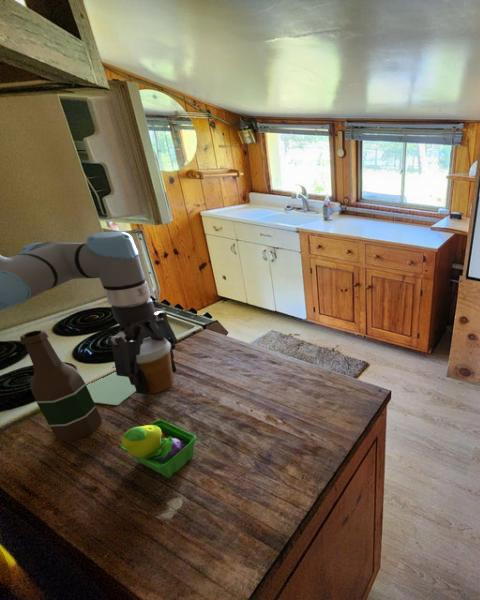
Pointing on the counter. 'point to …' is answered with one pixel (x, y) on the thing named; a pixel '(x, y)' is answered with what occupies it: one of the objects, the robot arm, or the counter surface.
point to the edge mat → (111, 389)
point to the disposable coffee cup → (156, 364)
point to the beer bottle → (60, 391)
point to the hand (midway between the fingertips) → (157, 381)
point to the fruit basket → (160, 446)
